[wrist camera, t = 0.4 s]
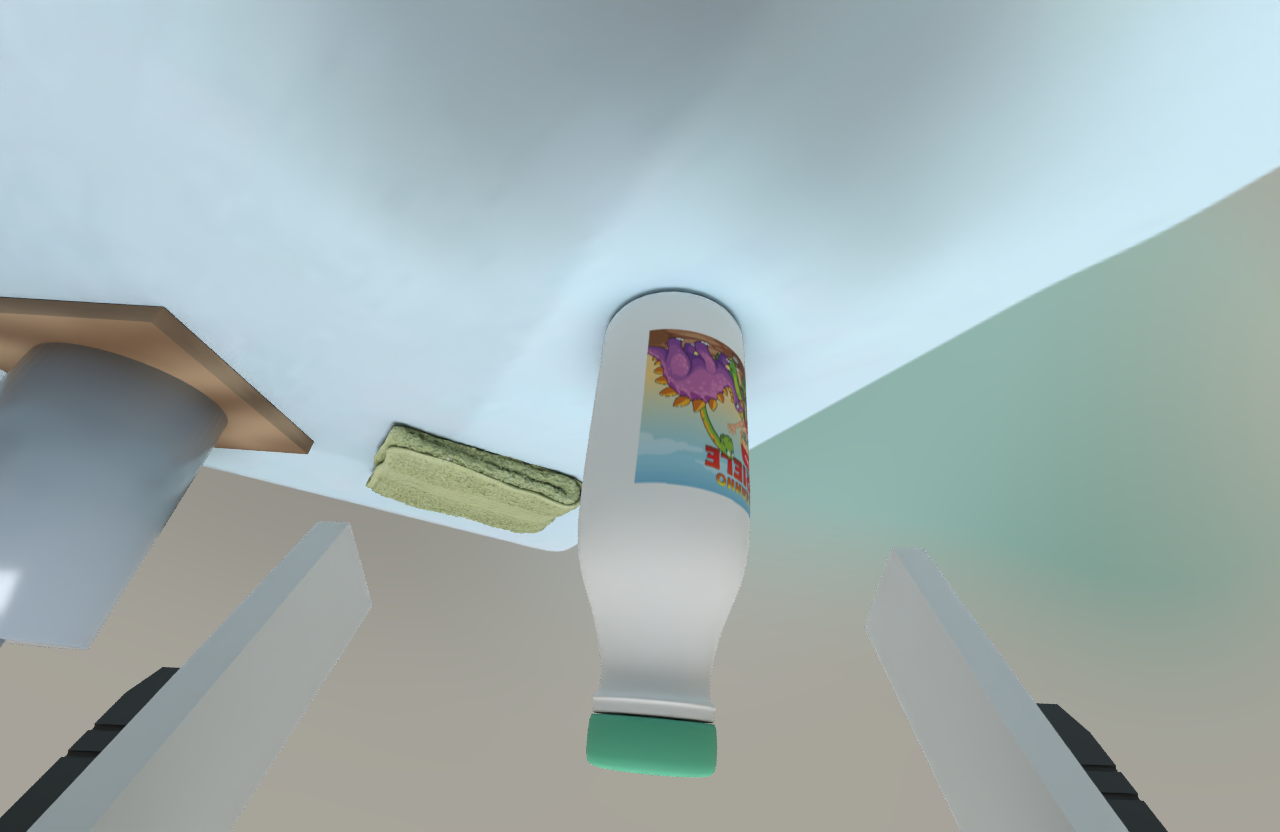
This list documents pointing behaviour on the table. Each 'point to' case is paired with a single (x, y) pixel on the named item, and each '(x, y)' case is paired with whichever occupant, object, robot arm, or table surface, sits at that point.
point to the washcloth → (470, 482)
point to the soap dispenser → (88, 483)
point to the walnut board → (152, 360)
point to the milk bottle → (664, 528)
